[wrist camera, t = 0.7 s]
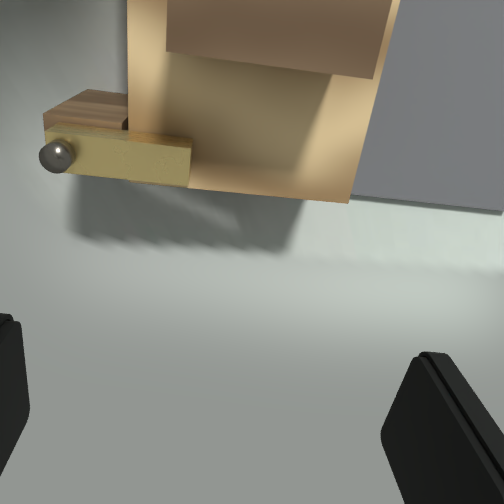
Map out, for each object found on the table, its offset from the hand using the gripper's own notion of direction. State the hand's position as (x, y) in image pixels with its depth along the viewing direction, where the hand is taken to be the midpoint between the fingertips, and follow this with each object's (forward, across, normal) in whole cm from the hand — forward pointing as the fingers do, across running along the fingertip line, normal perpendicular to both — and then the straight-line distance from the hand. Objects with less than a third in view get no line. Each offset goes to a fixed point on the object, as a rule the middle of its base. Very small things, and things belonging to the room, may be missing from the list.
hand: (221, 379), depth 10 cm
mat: (+24, -17, -9) cm, 31 cm away
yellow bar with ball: (+16, +5, -1) cm, 17 cm away
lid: (+17, -1, -8) cm, 19 cm away
